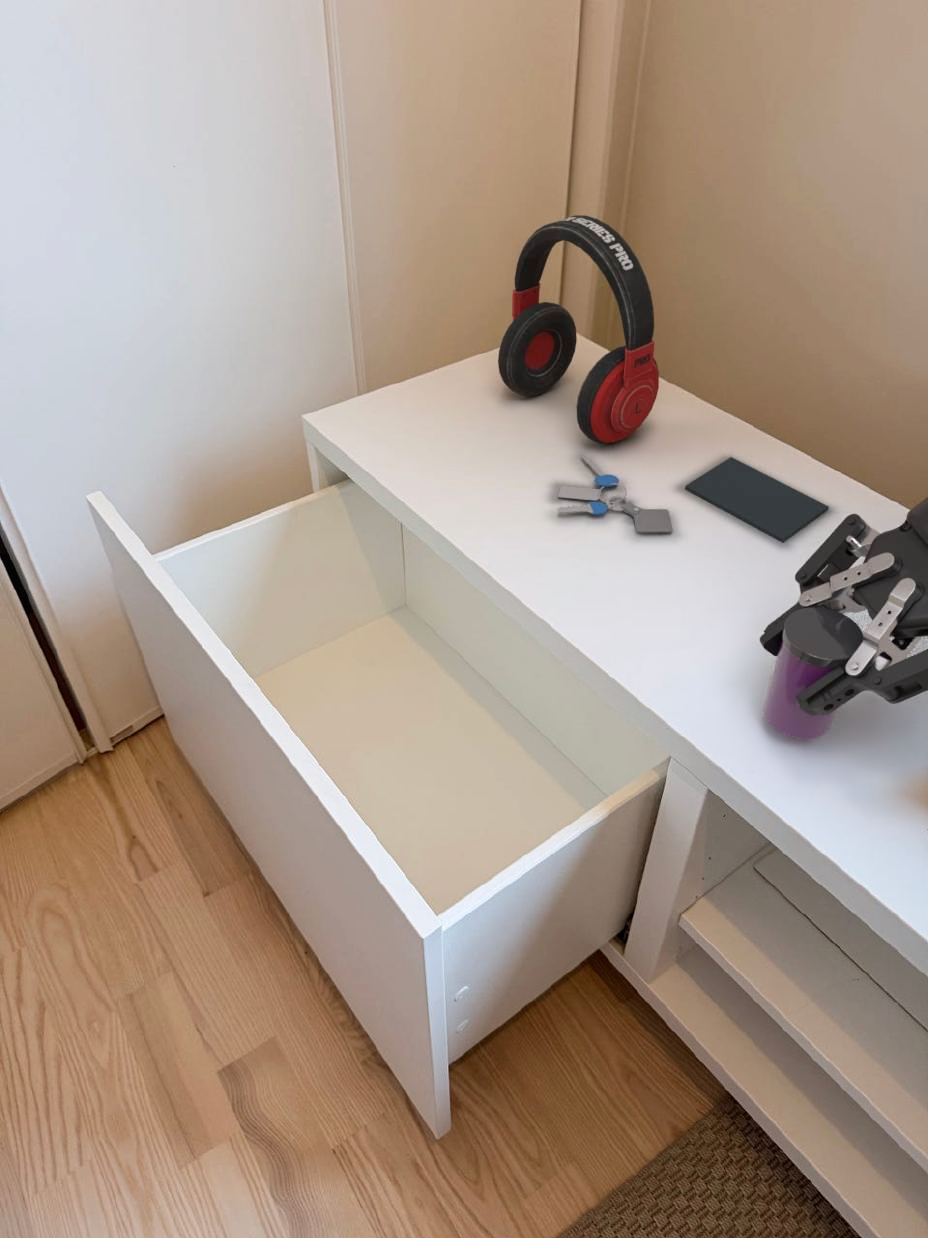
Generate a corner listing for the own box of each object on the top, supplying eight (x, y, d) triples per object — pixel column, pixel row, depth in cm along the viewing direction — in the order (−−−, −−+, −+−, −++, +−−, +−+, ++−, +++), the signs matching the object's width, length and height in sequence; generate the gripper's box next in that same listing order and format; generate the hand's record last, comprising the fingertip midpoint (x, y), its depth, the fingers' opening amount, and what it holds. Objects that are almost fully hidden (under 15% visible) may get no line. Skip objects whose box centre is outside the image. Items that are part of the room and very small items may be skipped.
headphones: (667, 433, 96) (697, 237, 82) (596, 469, 91) (614, 268, 77) (554, 367, 106) (563, 183, 92) (485, 396, 101) (483, 208, 88)
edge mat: (828, 509, 86) (829, 506, 86) (782, 542, 83) (783, 539, 82) (730, 459, 92) (731, 456, 92) (684, 488, 89) (685, 485, 88)
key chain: (686, 526, 84) (687, 519, 84) (618, 562, 81) (619, 555, 80) (583, 457, 93) (584, 450, 92) (518, 487, 89) (518, 480, 89)
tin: (848, 714, 66) (879, 633, 61) (807, 752, 64) (836, 671, 59) (788, 677, 69) (813, 596, 64) (747, 711, 67) (769, 631, 61)
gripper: (920, 417, 60) (713, 586, 67) (1067, 557, 49) (804, 740, 56) (968, 475, 64) (768, 628, 71) (1112, 615, 54) (862, 778, 61)
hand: (785, 677), depth 63 cm, fingers closed on tin, 5 cm apart
